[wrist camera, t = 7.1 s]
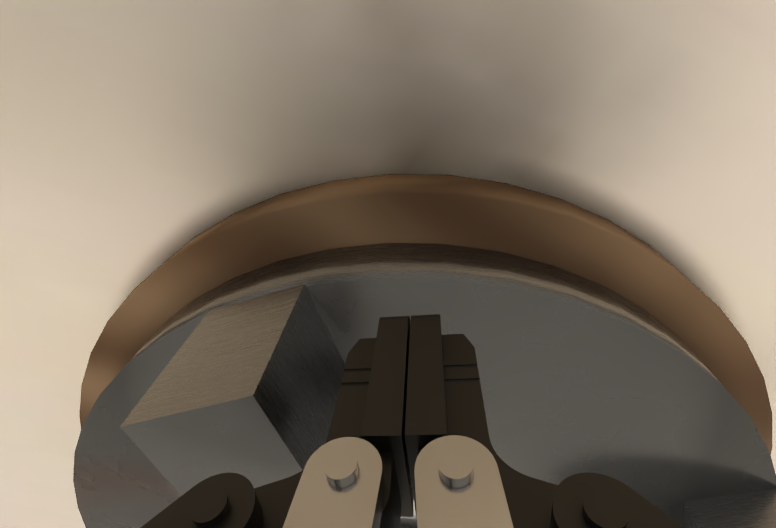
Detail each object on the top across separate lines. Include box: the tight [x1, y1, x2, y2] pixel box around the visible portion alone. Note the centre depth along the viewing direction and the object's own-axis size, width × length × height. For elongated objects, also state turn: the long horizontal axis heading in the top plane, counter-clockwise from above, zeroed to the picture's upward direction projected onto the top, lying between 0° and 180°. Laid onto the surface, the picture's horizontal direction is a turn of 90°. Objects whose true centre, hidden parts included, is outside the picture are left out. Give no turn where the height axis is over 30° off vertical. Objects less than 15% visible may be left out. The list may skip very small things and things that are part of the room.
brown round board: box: [80, 174, 772, 455], centre depth 20 cm, size 30×30×2 cm
